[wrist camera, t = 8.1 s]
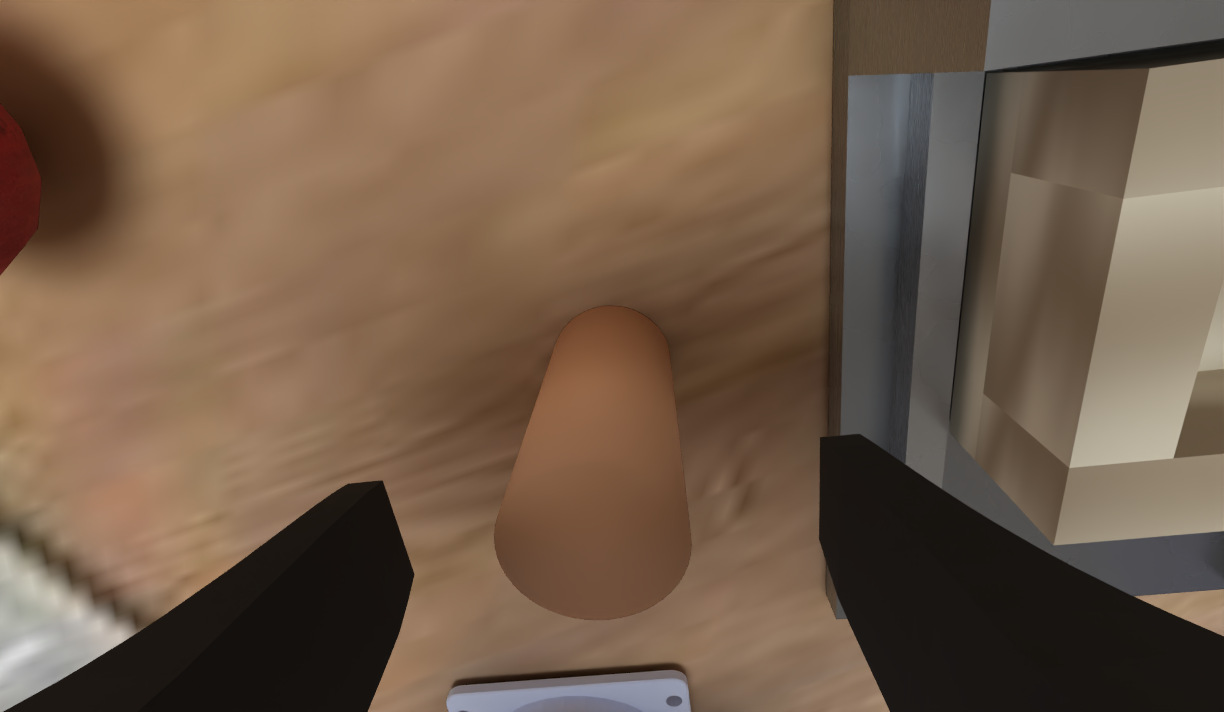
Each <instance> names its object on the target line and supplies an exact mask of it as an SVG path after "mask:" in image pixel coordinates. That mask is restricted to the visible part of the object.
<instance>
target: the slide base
mask: <svg viewBox="0 0 1224 712" xmlns="http://www.w3.org/2000/svg"><path fill="white" fill-rule="evenodd" d="M1217 41H1224V0H834V32H833V107H832V182H831V257H830V332H829V407H828V437H830V436H840V435H851V434H861V435H863V436H864V437H866V438H867V439H869V440H870V441H872V442H873V443H875V444H876V445H878V446H879V447H881V448H882V449H884V450H885V451H887V452H888V453H890V454H891V455H893V456H894V457H895V458H897V459H898V460H900V461H901V462H903V463H904V464H906V465H907V466H909V467H910V468H912V469H913V470H914V471H916V472H917V473H919V474H920V475H922V476H923V477H925V478H926V479H928V480H929V481H931V482H932V483H934V484H935V485H937V486H938V487H940V488H941V489H943V490H944V491H946V492H947V493H949V494H950V495H952V496H953V497H955V498H957V499H958V500H960V501H961V502H963V503H964V504H966V505H968V506H969V507H971V508H972V509H974V510H976V511H977V512H979V513H980V514H982V515H984V516H985V517H987V518H989V519H990V520H992V521H993V522H995V523H997V524H998V525H1000V526H1002V527H1004V528H1005V529H1007V530H1009V531H1011V532H1012V533H1014V534H1016V535H1017V536H1019V537H1021V538H1023V539H1024V540H1026V541H1028V542H1030V543H1031V544H1033V545H1035V546H1036V547H1038V548H1040V549H1042V550H1043V551H1045V552H1047V553H1049V554H1051V555H1053V556H1055V557H1056V558H1058V559H1060V560H1062V561H1064V562H1066V563H1068V564H1069V565H1071V566H1073V567H1075V568H1077V569H1079V570H1081V571H1083V572H1085V573H1087V574H1089V575H1091V576H1093V577H1095V578H1097V579H1099V580H1101V581H1103V582H1105V583H1107V584H1109V585H1111V586H1113V587H1115V588H1117V589H1119V590H1121V591H1123V592H1125V593H1127V594H1129V595H1131V596H1142V595H1155V594H1167V593H1180V592H1193V591H1206V590H1218V589H1224V531H1218V532H1207V533H1195V534H1183V535H1171V536H1159V537H1147V538H1136V539H1124V540H1112V541H1100V542H1088V543H1076V544H1064V545H1053V544H1052V543H1051V542H1050V541H1049V540H1048V539H1047V538H1046V536H1045V535H1044V534H1043V533H1042V532H1041V531H1040V530H1039V529H1038V528H1037V527H1036V526H1035V525H1034V524H1033V522H1032V521H1031V520H1030V519H1029V518H1028V517H1027V516H1026V515H1025V514H1024V513H1023V512H1022V511H1021V510H1020V508H1019V507H1018V506H1017V505H1016V504H1015V503H1014V502H1013V501H1012V500H1011V499H1010V498H1009V497H1008V496H1007V494H1006V493H1005V492H1004V491H1003V490H1002V489H1001V488H1000V487H999V486H998V485H997V484H996V483H995V481H994V480H993V479H992V478H991V477H990V476H989V475H988V474H987V473H986V472H985V471H984V470H983V469H982V467H981V466H980V465H979V464H978V463H977V462H976V461H975V460H974V459H973V458H972V457H971V456H970V455H969V453H968V452H967V451H966V450H965V449H964V448H963V447H962V446H961V445H960V444H959V443H958V442H957V440H956V439H955V438H954V437H953V436H952V435H951V434H950V433H949V428H950V419H951V409H952V399H953V390H954V380H955V371H956V361H957V352H958V342H959V333H960V323H961V313H962V304H963V294H964V285H965V275H966V266H967V256H968V247H969V237H970V228H971V218H972V208H973V199H974V189H975V180H976V170H977V161H978V151H979V142H980V132H981V122H982V113H983V103H984V94H985V84H986V75H987V73H992V72H999V71H1006V70H1013V69H1021V68H1028V67H1035V66H1043V65H1050V64H1057V63H1064V62H1072V61H1079V60H1086V59H1094V58H1101V57H1108V56H1115V55H1123V54H1130V53H1137V52H1144V51H1152V50H1159V49H1166V48H1174V47H1181V46H1188V45H1195V44H1203V43H1210V42H1217ZM826 595H827V597H828V600H829V602H830V605H831V607H832V610H833V612H834V615H835V617H836V619H847V617H846V615H845V612H844V610H843V608H842V606H841V603H840V601H839V599H838V596H837V593H836V590H835V587H834V584H833V581H832V578H831V575H830V572H829V569H828V566H827V563H826Z"/></svg>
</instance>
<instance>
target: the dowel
mask: <svg viewBox="0 0 1224 712" xmlns="http://www.w3.org/2000/svg"><path fill="white" fill-rule="evenodd" d="M494 543H495V550H496V554H497V558H498V560H499V563H500V565H501V567H502V569H503V571H504V573H505V574H506V576H507V577H508V579H509V580H510V581H511V582H512V584H513V585H514V586H515V587H516V588H517V589H518V590H519V591H520V592H521V593H522V594H524V595H525V596H526V597H527V598H529V599H530V600H532V601H533V602H535V603H536V604H538V605H540V606H542V607H544V608H546V609H548V610H550V611H553V612H555V613H558V614H561V615H564V616H568V617H572V618H579V619H585V620H610V619H616V618H622V617H626V616H630V615H633V614H636V613H639V612H641V611H644V610H646V609H648V608H650V607H652V606H654V605H655V604H657V603H658V602H660V601H661V600H663V599H664V598H665V597H666V596H667V595H668V594H669V593H671V592H672V590H673V589H674V588H675V587H676V586H677V585H678V583H679V582H680V580H681V579H682V577H683V576H684V574H685V571H686V569H687V567H688V564H689V560H690V556H691V546H692V544H691V532H690V523H689V514H688V506H687V497H686V489H685V480H684V471H683V463H682V454H681V446H680V437H679V428H678V420H677V411H676V403H675V394H674V385H673V377H672V368H671V360H670V352H669V348H668V344H667V342H666V339H665V337H664V336H663V334H662V332H661V331H660V329H659V328H658V327H657V326H656V325H655V324H654V323H653V322H652V321H651V320H650V319H649V318H647V317H646V316H644V315H643V314H641V313H639V312H637V311H634V310H632V309H629V308H625V307H619V306H602V307H597V308H593V309H590V310H587V311H585V312H583V313H581V314H579V315H578V316H576V317H575V318H573V319H572V320H571V321H570V322H569V323H568V324H567V325H566V326H565V327H564V329H563V330H562V332H561V333H560V335H559V337H558V339H557V341H556V344H555V347H554V350H553V353H552V356H551V359H550V362H549V365H548V368H547V371H546V374H545V377H544V380H543V383H542V386H541V389H540V392H539V395H538V398H537V401H536V404H535V407H534V410H533V413H532V415H531V418H530V421H529V424H528V427H527V430H526V433H525V436H524V439H523V442H522V445H521V448H520V451H519V454H518V457H517V460H516V463H515V466H514V469H513V472H512V475H511V478H510V481H509V484H508V487H507V490H506V493H505V496H504V499H503V502H502V505H501V508H500V511H499V514H498V517H497V520H496V524H495V532H494Z"/></svg>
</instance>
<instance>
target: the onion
mask: <svg viewBox="0 0 1224 712" xmlns="http://www.w3.org/2000/svg"><path fill="white" fill-rule="evenodd" d="M41 186H42V180H41V177H40V174H39V171H38V168H37V166H36V163H35V161H34V159H33V156H32V154H31V151H30V149H29V146H28V144H27V141H26V139H25V137H24V134H23V132H22V129H21V128H20V126H19V125H18V124H17V123H16V121H15V120H14V119H13V118H12V117H11V115H10V114H9V113H8V112H7V111H6V110H5V108H4V107H3V106H2V105H1V104H0V275H1V274H2V273H3V271H4V270H5V269H6V268H7V267H8V265H9V264H10V263H11V262H12V261H13V259H14V258H15V257H16V256H17V255H18V253H19V252H20V251H21V250H22V249H23V247H24V246H25V245H26V243H27V242H28V241H29V239H30V238H31V237H32V235H33V234H34V233H35V231H36V230H37V229H38V222H39V210H40V198H41Z"/></svg>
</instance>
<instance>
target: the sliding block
mask: <svg viewBox="0 0 1224 712" xmlns="http://www.w3.org/2000/svg"><path fill="white" fill-rule="evenodd" d="M949 433H950V434H951V435H952V436H953V437H954V438H955V439H956V440H957V442H958V443H959V444H960V445H961V446H962V447H963V448H964V449H965V450H966V451H967V452H968V453H969V455H970V456H971V457H972V458H973V459H974V460H975V461H976V462H977V463H978V464H979V465H980V466H981V467H982V469H983V470H984V471H985V472H986V473H987V474H988V475H989V476H990V477H991V478H992V479H993V480H994V481H995V483H996V484H997V485H998V486H999V487H1000V488H1001V489H1002V490H1003V491H1004V492H1005V493H1006V494H1007V496H1008V497H1009V498H1010V499H1011V500H1012V501H1013V502H1014V503H1015V504H1016V505H1017V506H1018V507H1019V508H1020V510H1021V511H1022V512H1023V513H1024V514H1025V515H1026V516H1027V517H1028V518H1029V519H1030V520H1031V521H1032V522H1033V524H1034V525H1035V526H1036V527H1037V528H1038V529H1039V530H1040V531H1041V532H1042V533H1043V534H1044V535H1045V536H1046V538H1047V539H1048V540H1049V541H1050V542H1051V543H1052V544H1053V545H1064V544H1076V543H1088V542H1100V541H1112V540H1124V539H1136V538H1147V537H1159V536H1171V535H1183V534H1195V533H1207V532H1218V531H1224V41H1217V42H1210V43H1203V44H1195V45H1188V46H1181V47H1174V48H1166V49H1159V50H1152V51H1144V52H1137V53H1130V54H1123V55H1115V56H1108V57H1101V58H1094V59H1086V60H1079V61H1072V62H1064V63H1057V64H1050V65H1043V66H1035V67H1028V68H1021V69H1013V70H1006V71H999V72H992V73H987V75H986V84H985V94H984V103H983V113H982V122H981V132H980V142H979V151H978V161H977V170H976V180H975V189H974V199H973V208H972V218H971V228H970V237H969V247H968V256H967V266H966V275H965V285H964V294H963V304H962V313H961V323H960V333H959V342H958V352H957V361H956V371H955V380H954V390H953V399H952V409H951V419H950V428H949Z"/></svg>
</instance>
